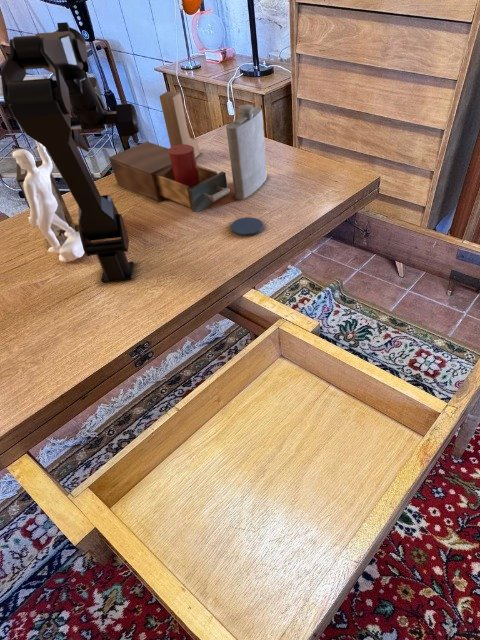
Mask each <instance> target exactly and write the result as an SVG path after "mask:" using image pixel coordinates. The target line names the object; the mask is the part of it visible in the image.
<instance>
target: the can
mask: <svg viewBox="0 0 480 640" xmlns="http://www.w3.org/2000/svg"><path fill="white" fill-rule="evenodd" d="M168 149H169V150H168V152H169V156H170V161H171V165H172V169H173V174H174V178H175V181H176V182H179V183H181V184H184V185H187V186H189V188H191V187H193V186H195V185H197V184H199V183H200V179H199V174H198V169H197V165H198V164H197V159H196V158H197V157H195V153H194V148H193V147H192V146H191V145H186V144H181V145H175V146H173V147H171V146H170V148H169V147H168Z"/></svg>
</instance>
